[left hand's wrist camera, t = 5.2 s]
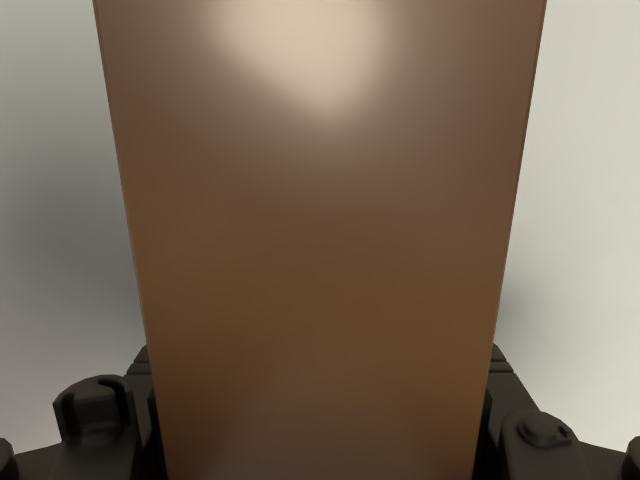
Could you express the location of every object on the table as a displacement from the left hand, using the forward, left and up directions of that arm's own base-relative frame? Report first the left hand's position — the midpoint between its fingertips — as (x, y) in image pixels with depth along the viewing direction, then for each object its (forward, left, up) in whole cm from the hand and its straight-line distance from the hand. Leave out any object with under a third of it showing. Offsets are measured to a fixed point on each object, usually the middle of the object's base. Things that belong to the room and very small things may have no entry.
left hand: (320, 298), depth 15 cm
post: (-4, +34, -1) cm, 34 cm away
